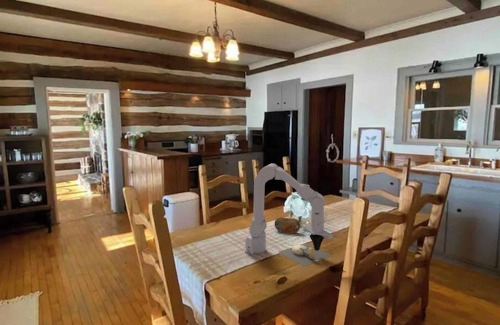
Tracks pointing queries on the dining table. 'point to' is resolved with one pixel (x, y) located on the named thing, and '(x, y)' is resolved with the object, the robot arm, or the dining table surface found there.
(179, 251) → the dining table surface
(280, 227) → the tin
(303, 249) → the cam dial
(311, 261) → the stand plate
